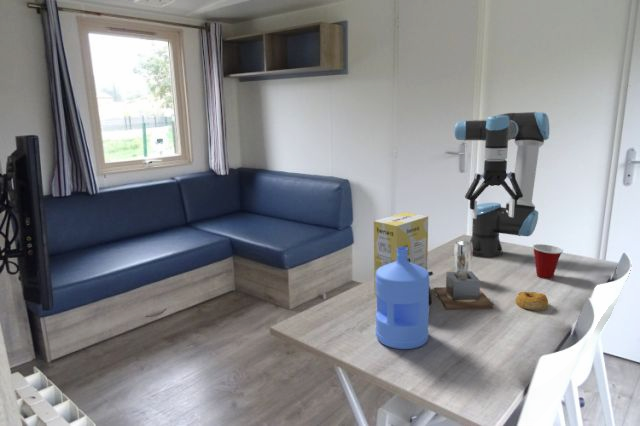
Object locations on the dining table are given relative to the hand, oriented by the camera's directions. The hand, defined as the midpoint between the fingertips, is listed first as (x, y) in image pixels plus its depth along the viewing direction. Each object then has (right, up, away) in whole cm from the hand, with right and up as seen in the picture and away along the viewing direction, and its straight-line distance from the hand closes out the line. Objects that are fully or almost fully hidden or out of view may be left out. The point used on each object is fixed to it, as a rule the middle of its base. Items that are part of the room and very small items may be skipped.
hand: (492, 217), depth 164 cm
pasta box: (-33, -28, +4) cm, 43 cm away
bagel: (+9, -30, -11) cm, 33 cm away
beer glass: (-7, -25, +13) cm, 29 cm away
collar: (-13, -27, -6) cm, 31 cm away
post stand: (-13, -29, -5) cm, 32 cm away
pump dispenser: (-31, -32, -13) cm, 46 cm away
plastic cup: (+26, -24, +13) cm, 37 cm away
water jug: (-39, -36, -30) cm, 61 cm away
